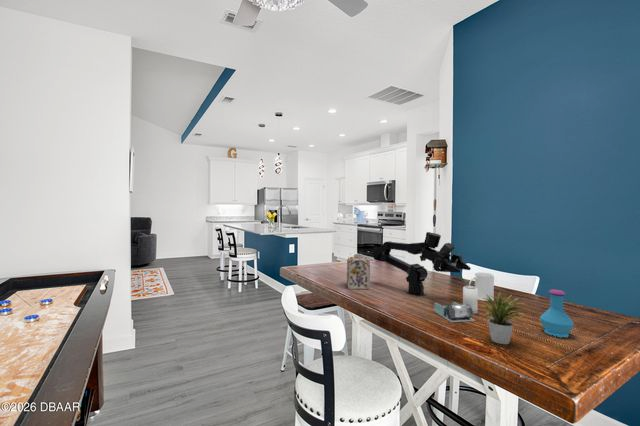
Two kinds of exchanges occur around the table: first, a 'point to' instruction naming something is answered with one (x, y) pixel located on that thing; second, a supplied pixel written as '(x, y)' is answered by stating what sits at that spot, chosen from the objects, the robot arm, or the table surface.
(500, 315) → the house plant
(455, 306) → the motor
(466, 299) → the white cylinder
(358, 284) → the decorative jar
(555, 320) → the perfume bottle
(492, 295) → the mug
